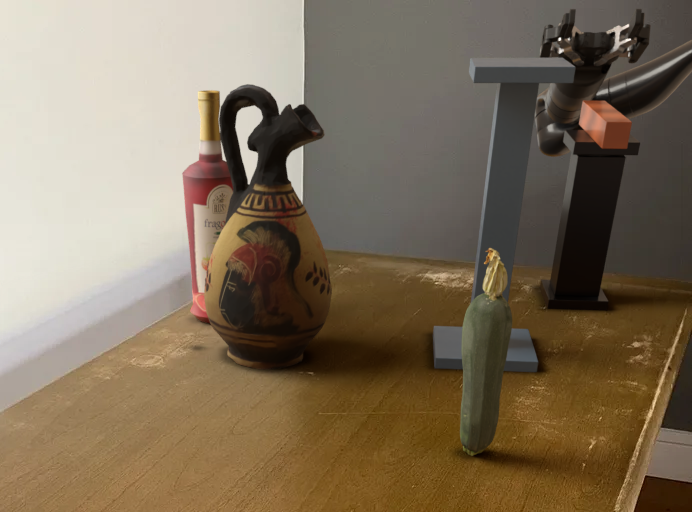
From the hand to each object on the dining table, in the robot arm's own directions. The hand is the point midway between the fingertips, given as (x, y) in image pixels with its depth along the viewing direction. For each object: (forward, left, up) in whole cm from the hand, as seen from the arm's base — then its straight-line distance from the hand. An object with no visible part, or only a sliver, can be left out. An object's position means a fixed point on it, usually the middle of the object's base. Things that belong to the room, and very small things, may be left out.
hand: (605, 15), depth 128 cm
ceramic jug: (+57, -6, -35) cm, 67 cm away
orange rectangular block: (+9, +8, -13) cm, 18 cm away
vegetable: (+62, +30, -35) cm, 77 cm away
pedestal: (+9, +8, -34) cm, 37 cm away
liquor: (+52, -21, -35) cm, 66 cm away
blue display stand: (+37, +13, -34) cm, 52 cm away
